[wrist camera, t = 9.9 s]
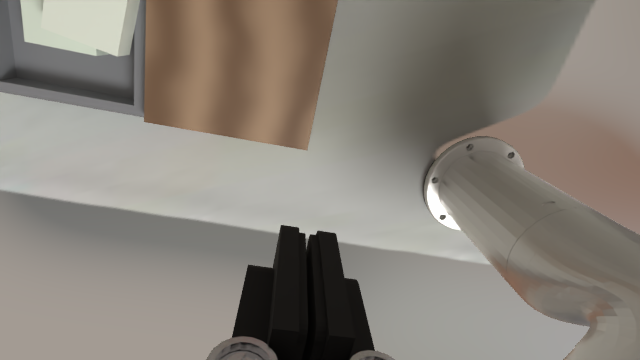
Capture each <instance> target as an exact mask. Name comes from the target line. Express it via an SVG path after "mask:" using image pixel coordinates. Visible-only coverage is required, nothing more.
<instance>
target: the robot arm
mask: <svg viewBox="0 0 640 360" xmlns="http://www.w3.org/2000/svg"><path fill="white" fill-rule="evenodd" d="M467 145H468V146H467ZM424 198H425V203H426V205H427V207H428V209H429V211H430V212H431V214H432V215H433V217H434V218H435V219H436V220H437V221H438V222H440V223H441V224H443V225H445V226H446V227H449V228H452V229H457V230H462V231H463V232H464V233H465V234H466V236H467V237H468V238H469V239H470V240H471V241H472V242H473V244H474V245H475V246H476V247H477V248H478V249H479V250H480V252H481V253H482V254H483V255H484V256H485V257H486V258H487V260H488V261H489V262H490V263H491V264H492V265H493V266H494V267H495V269H496V270H497V271H498V272H499V273H500V274H501V276H502V277H503V278H504V279H505V280H506V281H507V282H508V283H509V285H510V286H511V287H512V288H513V289H514V290H515V291H516V292H517V293H518V295H519V296H520V297H521V298H522V299H523V300H524V301H525V302H526V303H527V304H528V305H530V306H531V307H532V308H534V309H535V310H537V311H539V312H540V313H542V314H544V315H546V316H548V317H551V318H554V319H557V320H560V321H563V322H568V323H572V324H577V325H583V326H590V328H589V330H588V332H587V333H586V335H585V336H584V337H583V338H582V339H581V340H580V342H578V343H577V345H576V346H575V348H574V349H573V350H572V351H571V352H570V353H569V354H568V355H567V356H566V357H565V359H563V360H640V235H639V234H637V233H635V232H633V231H632V230H630V229H628V228H626V227H624V226H622V225H620V224H619V223H617V222H615V221H613V220H612V219H610V218H608V217H607V216H604V215H603V214H601V213H599V212H598V211H596V210H594V209H592V208H591V207H589V206H587V205H585V204H584V203H582V202H580V201H579V200H577V199H575V198H573V197H572V196H570V195H568V194H567V193H565V192H563V191H561V190H560V189H558V188H556V187H554V186H553V185H551V184H549V183H548V182H546V181H544V180H542V179H541V178H539V177H537V176H536V175H534V174H532V173H530V172H528V171H527V170H525V169H524V164H523V161H522V158H521V157H520V155H519V154H518V152H517V151H516V150H515V149H514V148H513V147H512V146H511V145H509V144H507V143H505V142H504V141H501V140H499V139H497V138H493V137H487V136H477V137H472V138H467V139H465V140H462V141H460V142H457V143H456V144H454V145H452V146H451V147H449V148H448V149H446V150H445V151H444V152H443V153H442V154H441V155H440V156H439V157H438V158H437V159H436V160H435V161H434V163H433V165H432V166H431V168H430V169H429V172H428V174H427V177H426V180H425V185H424ZM305 241H306V239H305V233H299V228H297V227H291V226H284V225H281V228H280V233H279V239H278V243H277V248H276V254H275V259H274V264H273V268H268V267H260V266H253V265H248V268H247V272H246V277H245V281H244V286H243V290H242V295H241V299H240V304H239V308H238V313H237V318H236V322H235V327H234V331H233V335H232V338H230V339H228V340H225V341H223V342H221V343H220V344H219V345H218V346H216V347H215V348H214V349H213V350H212V351H211V353H210V354H209V356H208V357H207V359H206V360H394V359H393V358H392V357H390V356H389V355H386V354H384V353H381V352H379V351H375V350H374V345H373V341H372V337H371V333H370V329H369V325H368V321H367V317H366V312H365V308H364V304H363V300H362V296H361V292H360V288H359V284H358V281H357V280H355V279H347V278H344V274H343V268H342V263H341V258H340V253H339V248H338V242H337V237H336V234H335V233H330V232H323V231H317V233H316V235H312V234H310V236H309V241H308V245H307V249H306V242H305Z"/></svg>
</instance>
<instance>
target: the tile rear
mask: <svg viewBox="0 0 640 360" xmlns="http://www.w3.org/2000/svg"><path fill="white" fill-rule="evenodd" d="M20 2H21V11H22V21H23V31H24V41H25V42H29V43H34V44H39V45H44V46H49V47H54V48H59V49H64V50H69V51H74V52H79V53H84V54H89V55H94V56H101V55H109V53H106V52H104V51H101V50H98V49H96V48H93V47H90V46H88V45H85V44H83V43H80V42H77V41H75V40H72V39H69V38H67V37H64V36H61V35H59V34H56V33H53V32H51V31H48V30H45V29H43V28H41V22H42V12H43V2H44V0H20Z"/></svg>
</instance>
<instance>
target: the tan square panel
mask: <svg viewBox="0 0 640 360" xmlns="http://www.w3.org/2000/svg"><path fill="white" fill-rule="evenodd" d="M337 2H338V0H146V38H145V97H144V122H148V123H153V124H159V125H165V126H171V127H176V128H182V129H188V130H194V131H199V132H205V133H211V134H217V135H222V136H228V137H234V138H240V139H245V140H251V141H257V142H262V143H268V144H274V145H280V146H285V147H291V148H297V149H303V150H307V148H308V144H309V139H310V134H311V129H312V124H313V119H314V114H315V109H316V104H317V100H318V95H319V90H320V85H321V80H322V75H323V70H324V65H325V60H326V56H327V51H328V46H329V41H330V36H331V31H332V26H333V21H334V17H335V12H336V7H337Z"/></svg>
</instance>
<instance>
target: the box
mask: <svg viewBox="0 0 640 360" xmlns="http://www.w3.org/2000/svg"><path fill="white" fill-rule="evenodd" d="M145 38H146V0H140V3H139V8H138V14H137V19H136V24H135V29H134V34H133V39H132V44H131V49H130V55H125V56H118V57H117V56H114V55H112V54H109V55H101V56H94V55H89V54H84V53H79V52H74V51H69V50H64V49H59V48H54V47H49V46H44V45H39V44H34V43H29V42H25V41H24V31H23V21H22V11H21V2H20V0H0V92H3V93H9V94H15V95H20V96H26V97H32V98H37V99H43V100H49V101H55V102H60V103H66V104H72V105H77V106H83V107H89V108H94V109H100V110H106V111H111V112H117V113H123V114H128V115H134V116H140V117H144V97H145Z"/></svg>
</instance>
